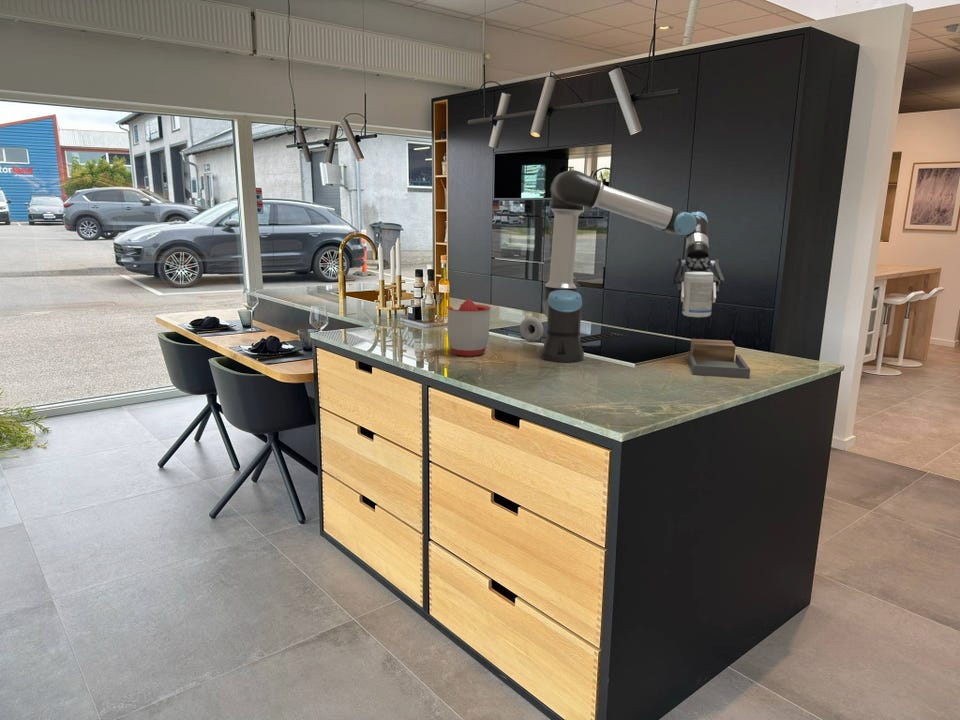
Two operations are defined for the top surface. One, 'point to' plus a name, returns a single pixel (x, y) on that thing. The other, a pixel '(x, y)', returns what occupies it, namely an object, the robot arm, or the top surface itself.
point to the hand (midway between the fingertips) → (698, 299)
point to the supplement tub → (698, 294)
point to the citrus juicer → (468, 328)
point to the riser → (713, 350)
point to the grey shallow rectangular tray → (719, 367)
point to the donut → (537, 326)
